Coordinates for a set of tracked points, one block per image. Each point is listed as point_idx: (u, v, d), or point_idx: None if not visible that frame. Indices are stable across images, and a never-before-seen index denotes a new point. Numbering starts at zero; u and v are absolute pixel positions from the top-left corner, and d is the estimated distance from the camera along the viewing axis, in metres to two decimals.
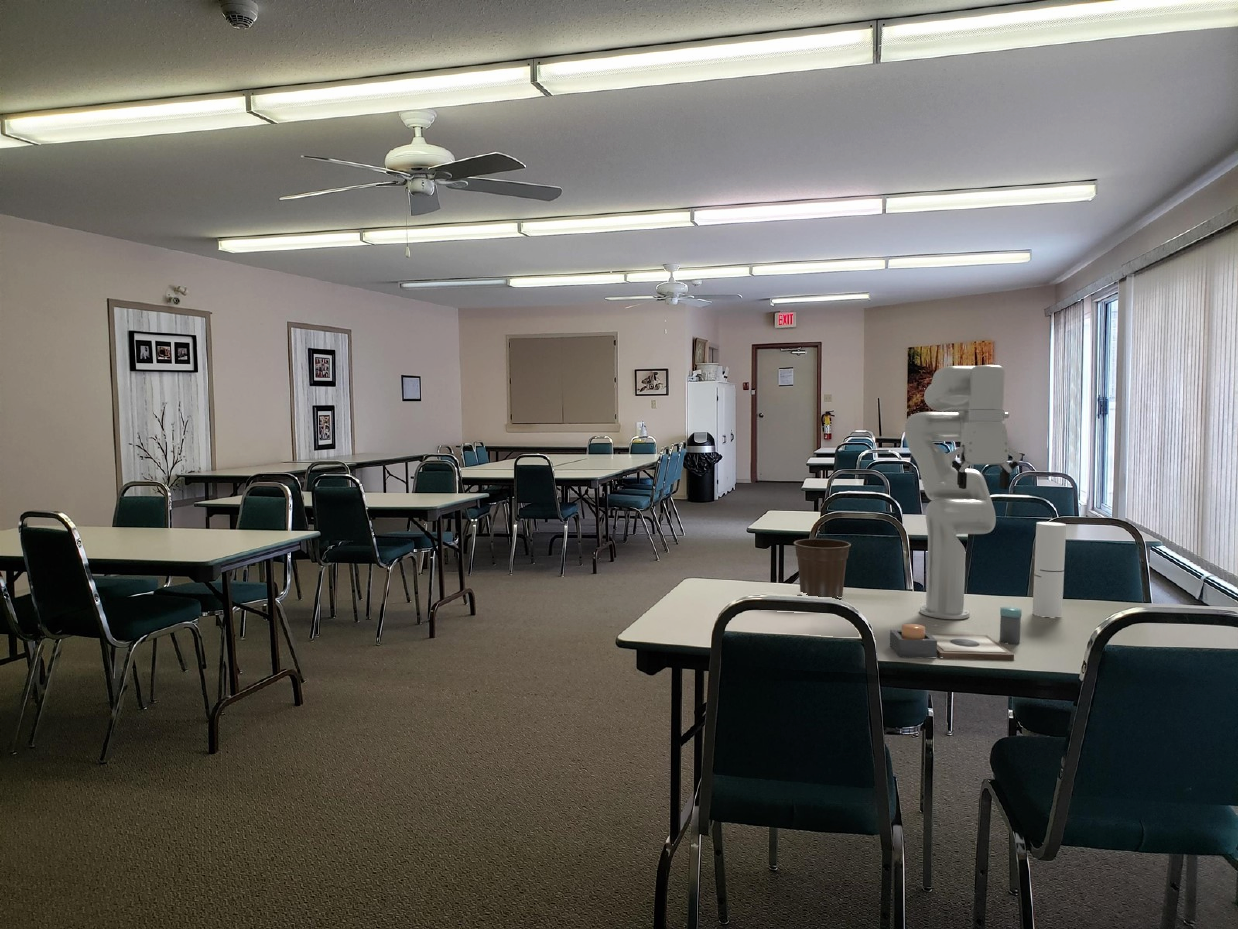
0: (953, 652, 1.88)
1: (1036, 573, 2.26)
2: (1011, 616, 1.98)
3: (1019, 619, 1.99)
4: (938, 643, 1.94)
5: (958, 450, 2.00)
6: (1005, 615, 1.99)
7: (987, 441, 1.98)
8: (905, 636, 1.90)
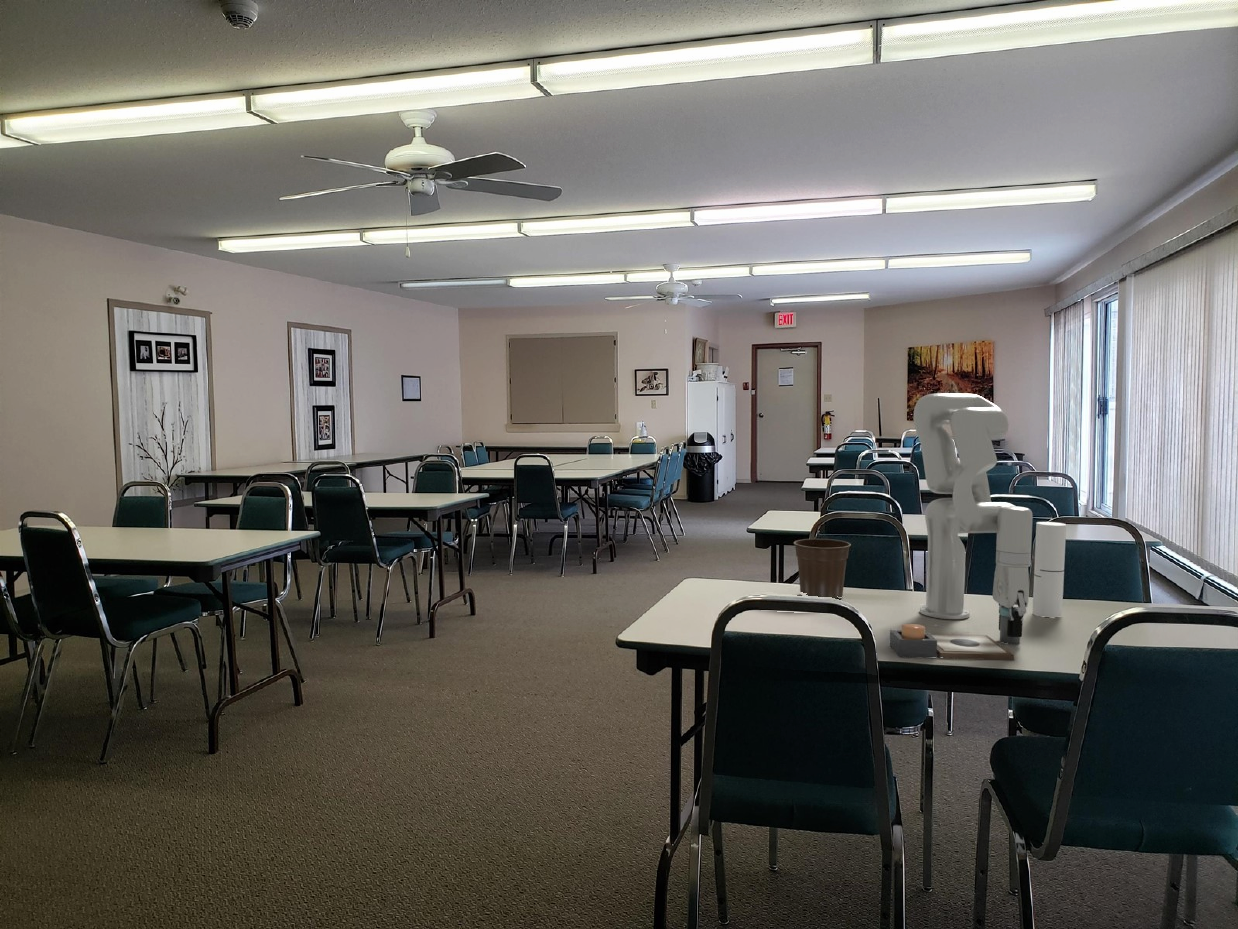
0: (953, 652, 1.88)
1: (1036, 573, 2.26)
2: None
3: None
4: (938, 643, 1.94)
5: None
6: (1005, 615, 1.99)
7: None
8: (905, 636, 1.90)
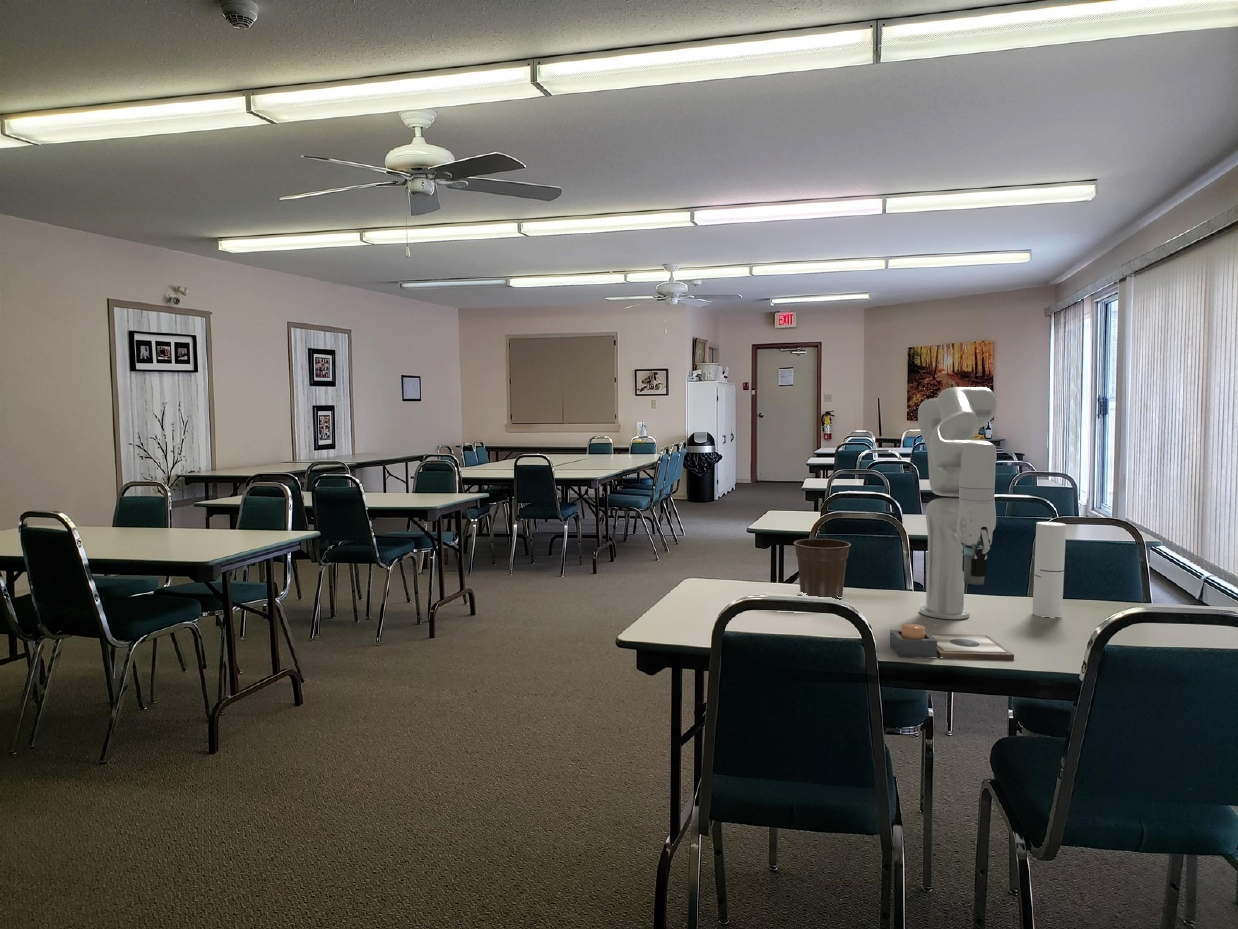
0: (953, 652, 1.88)
1: (1036, 573, 2.26)
2: None
3: None
4: (938, 643, 1.94)
5: None
6: (969, 554, 1.92)
7: None
8: (905, 636, 1.90)
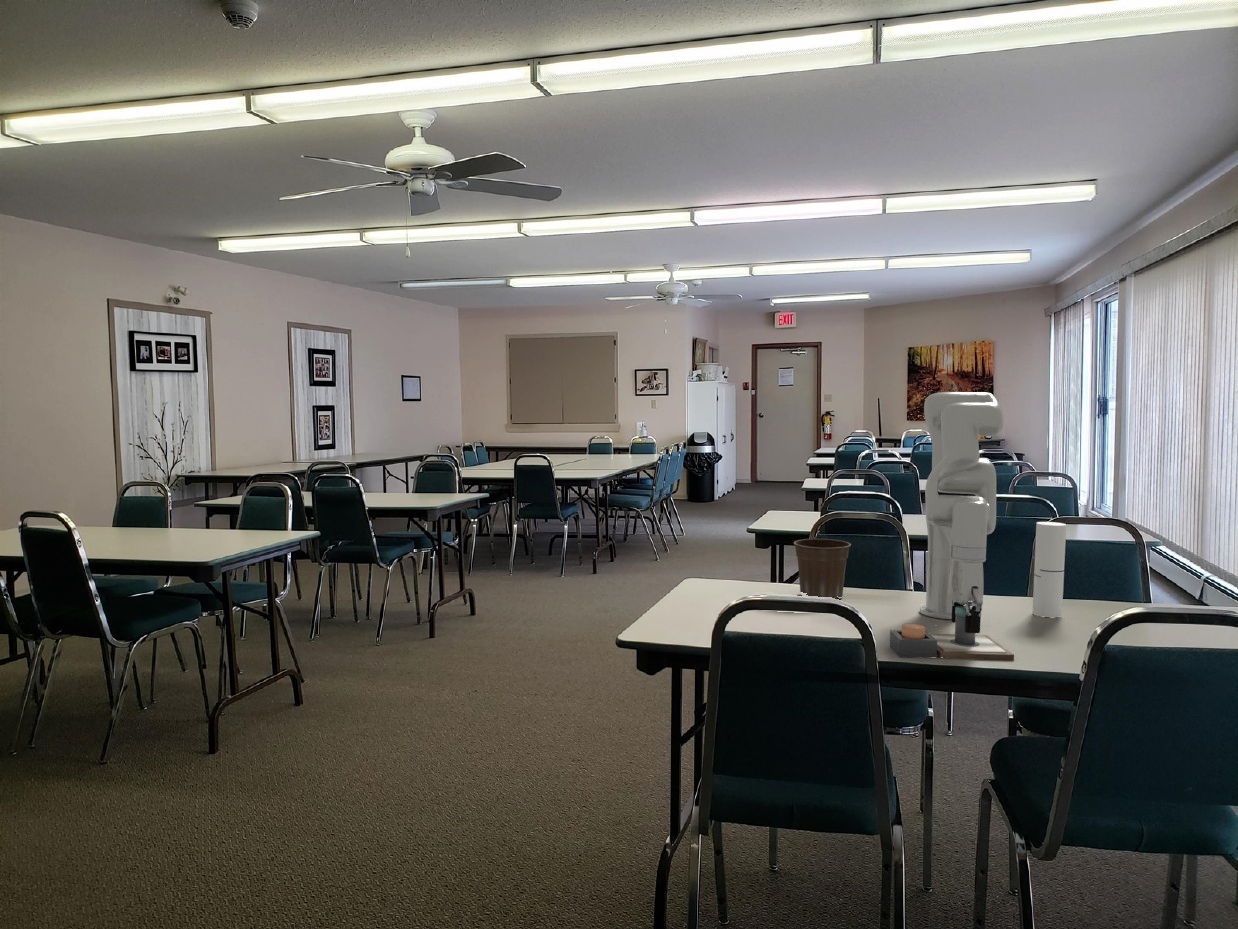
0: (953, 652, 1.88)
1: (1036, 573, 2.26)
2: None
3: None
4: (938, 643, 1.94)
5: None
6: (960, 615, 1.93)
7: None
8: (905, 636, 1.90)
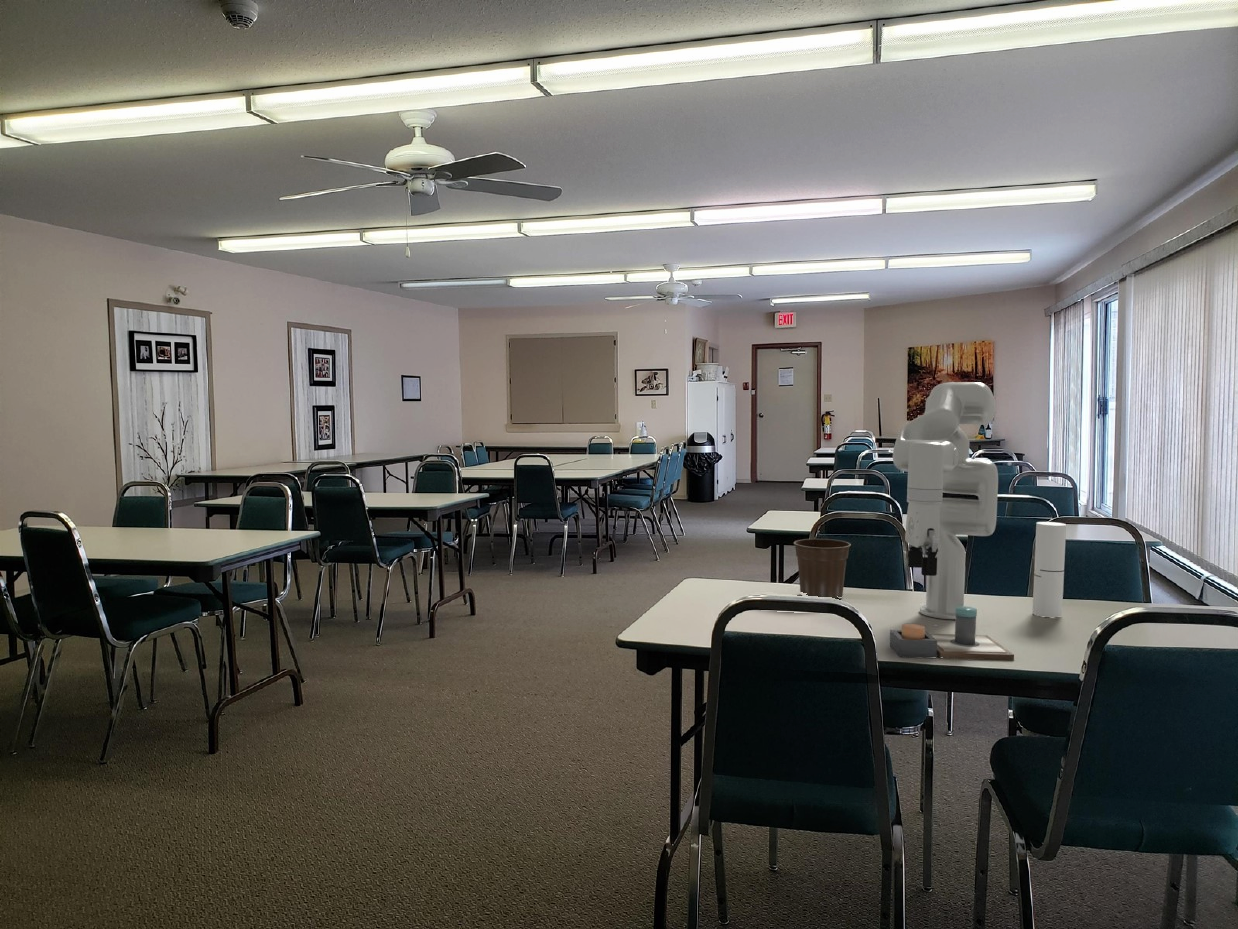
0: (953, 652, 1.88)
1: (1036, 573, 2.26)
2: (966, 616, 1.92)
3: (974, 619, 1.93)
4: (938, 643, 1.94)
5: None
6: (960, 615, 1.93)
7: None
8: (905, 636, 1.90)
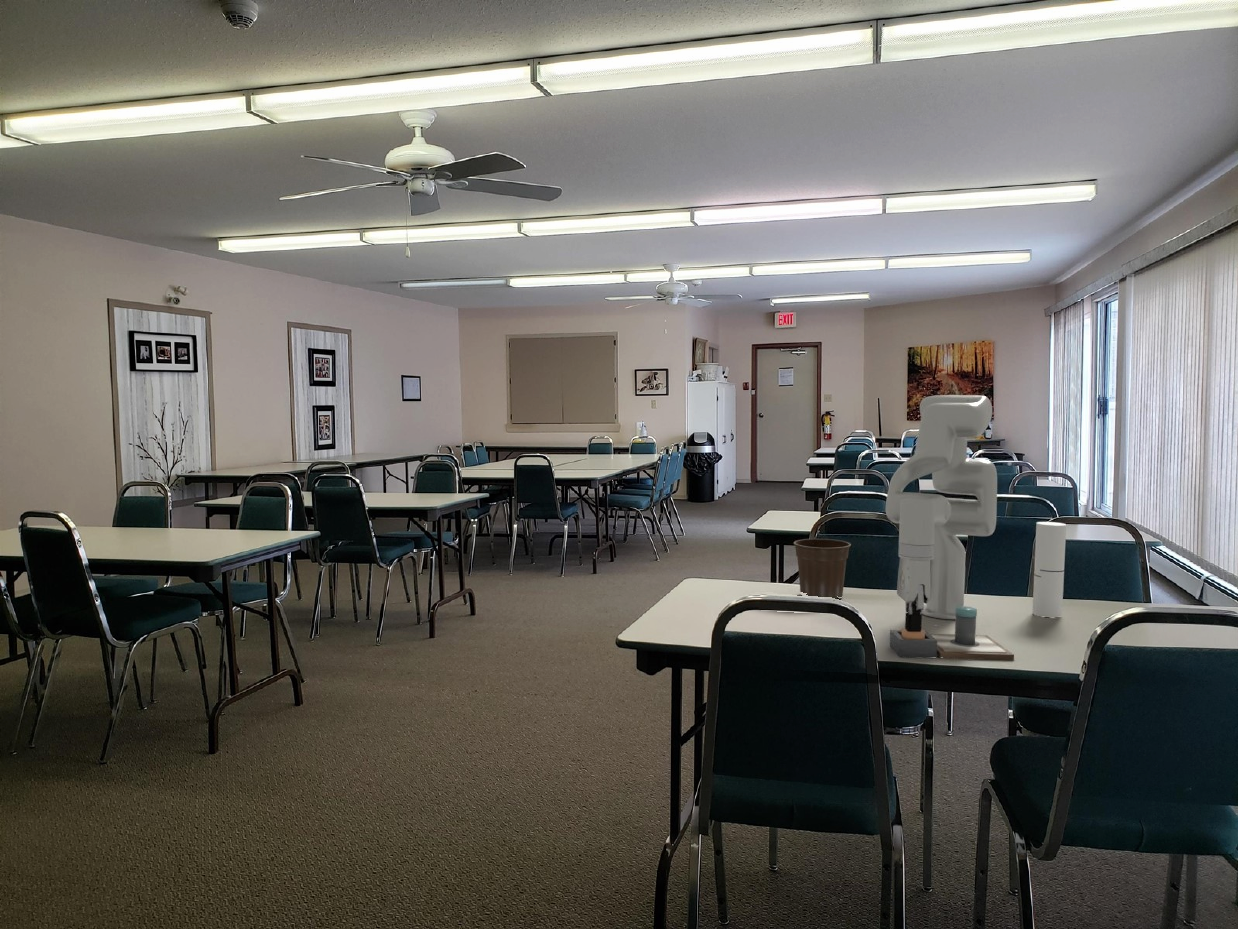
0: (953, 652, 1.88)
1: (1036, 573, 2.26)
2: (966, 616, 1.92)
3: (974, 619, 1.93)
4: (938, 643, 1.94)
5: None
6: (960, 615, 1.93)
7: None
8: None
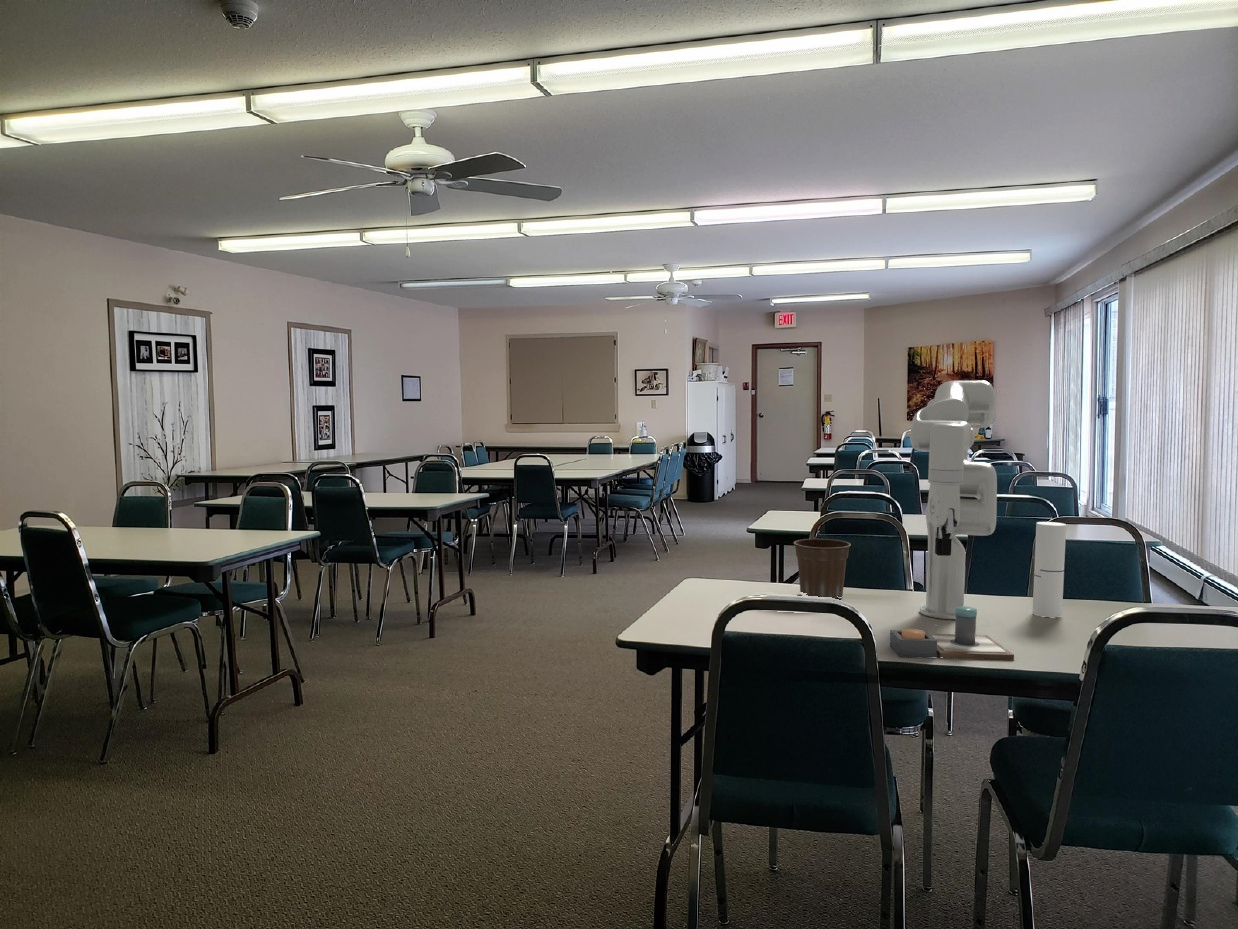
0: (953, 652, 1.88)
1: (1036, 573, 2.26)
2: (966, 616, 1.92)
3: (974, 619, 1.93)
4: (938, 643, 1.94)
5: None
6: (960, 615, 1.93)
7: None
8: None
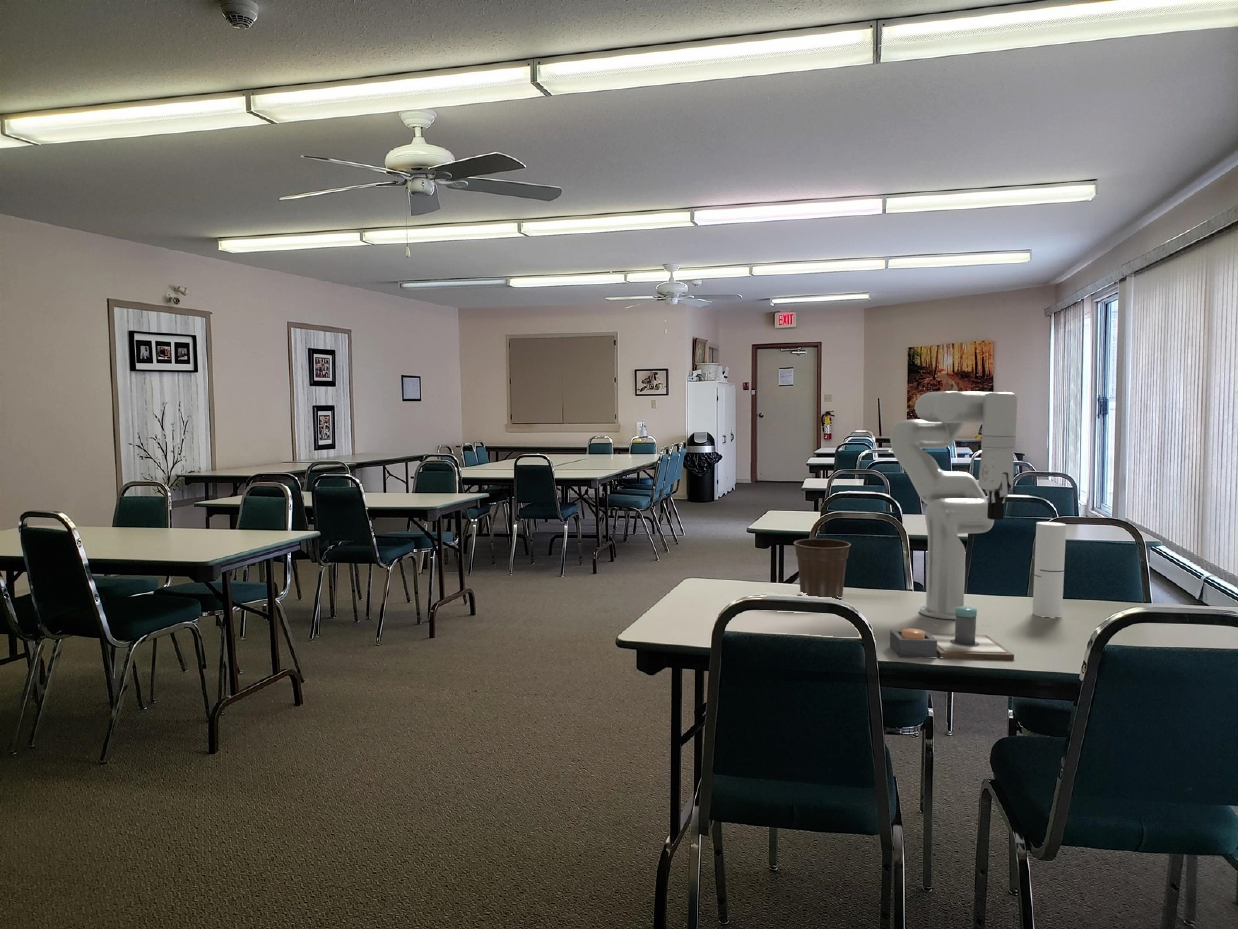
0: (953, 652, 1.88)
1: (1036, 573, 2.26)
2: (966, 616, 1.92)
3: (974, 619, 1.93)
4: (938, 643, 1.94)
5: None
6: (960, 615, 1.93)
7: None
8: None
